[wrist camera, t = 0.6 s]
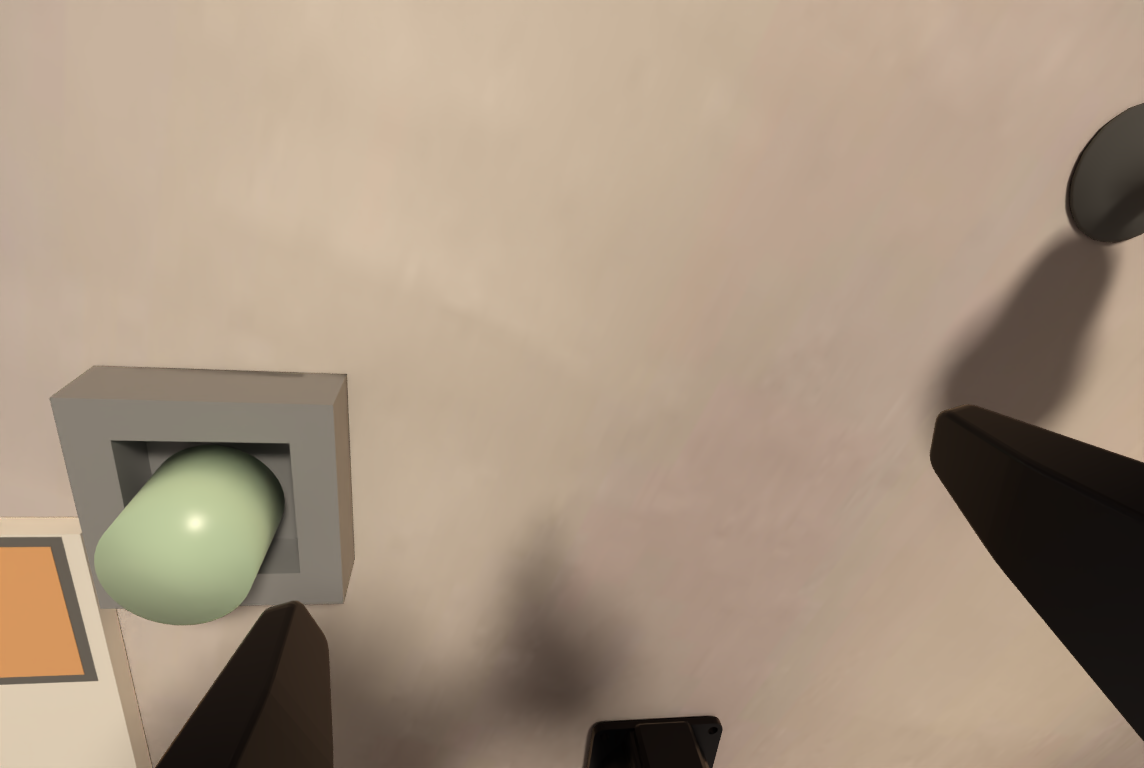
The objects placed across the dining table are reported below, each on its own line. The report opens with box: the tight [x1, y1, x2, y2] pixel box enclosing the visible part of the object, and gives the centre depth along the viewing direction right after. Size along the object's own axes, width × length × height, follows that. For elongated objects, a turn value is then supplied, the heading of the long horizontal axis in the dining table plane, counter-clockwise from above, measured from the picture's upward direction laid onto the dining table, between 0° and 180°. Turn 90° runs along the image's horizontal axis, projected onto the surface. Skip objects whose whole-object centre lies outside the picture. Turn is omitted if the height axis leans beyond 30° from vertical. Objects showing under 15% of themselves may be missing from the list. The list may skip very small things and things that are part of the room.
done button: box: [94, 445, 285, 625], centre depth 21 cm, size 4×4×4 cm
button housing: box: [50, 366, 355, 609], centre depth 23 cm, size 8×8×2 cm
